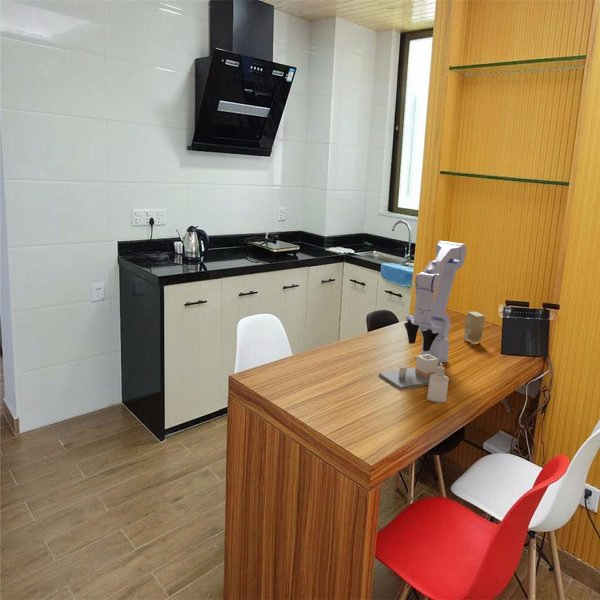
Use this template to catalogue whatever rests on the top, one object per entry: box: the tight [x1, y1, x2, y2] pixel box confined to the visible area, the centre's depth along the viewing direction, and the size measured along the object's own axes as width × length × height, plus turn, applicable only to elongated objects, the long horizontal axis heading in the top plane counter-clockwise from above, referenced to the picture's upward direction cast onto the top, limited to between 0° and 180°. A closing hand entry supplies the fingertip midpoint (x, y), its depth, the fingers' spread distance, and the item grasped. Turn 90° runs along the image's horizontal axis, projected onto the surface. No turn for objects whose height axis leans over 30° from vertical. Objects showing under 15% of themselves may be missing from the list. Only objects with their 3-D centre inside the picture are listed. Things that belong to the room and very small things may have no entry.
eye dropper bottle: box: [426, 363, 450, 404], centre depth 163 cm, size 4×6×12 cm
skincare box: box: [463, 311, 486, 343], centre depth 219 cm, size 6×4×12 cm
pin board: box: [378, 366, 450, 391], centre depth 179 cm, size 20×12×4 cm, turn 117°
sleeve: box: [415, 354, 439, 378], centre depth 181 cm, size 5×5×6 cm
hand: (418, 347), depth 183 cm, fingers open, 7 cm apart
